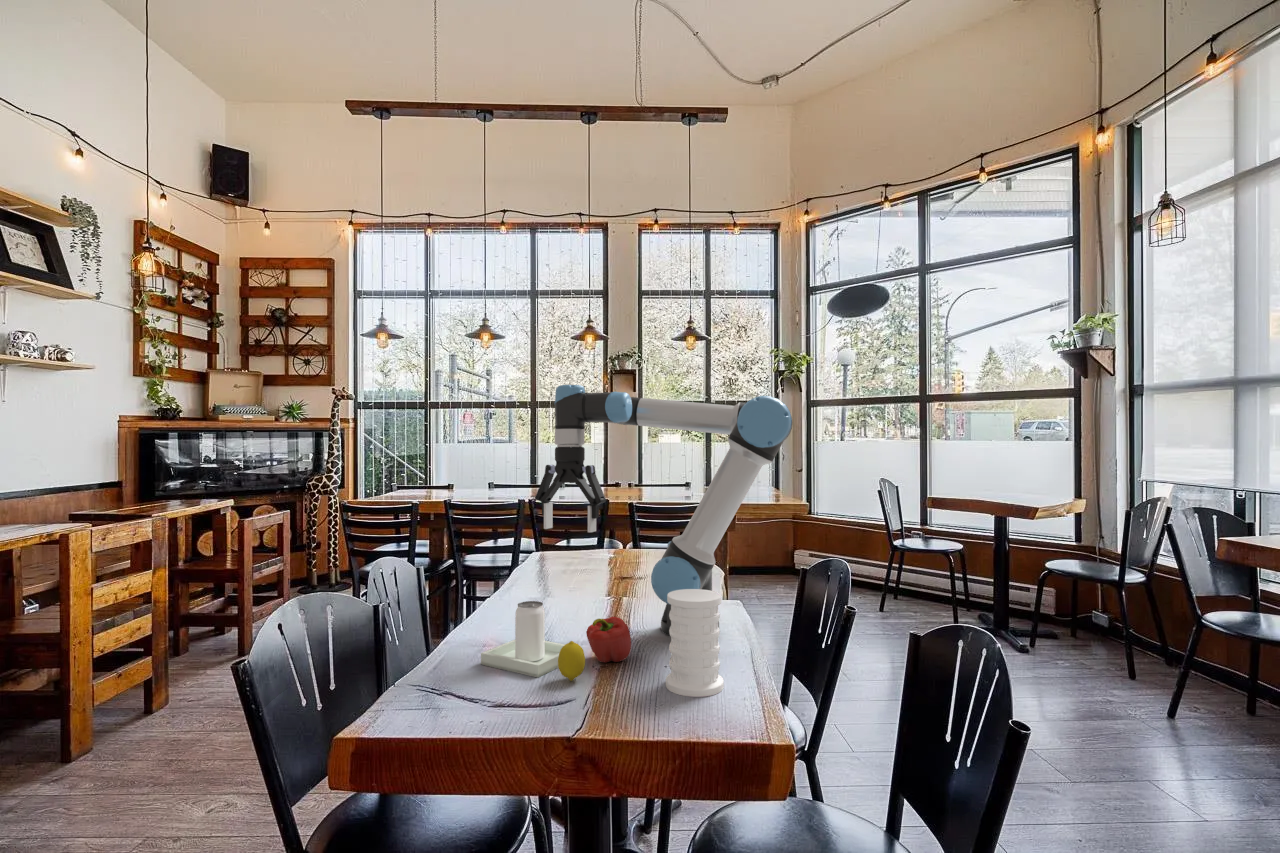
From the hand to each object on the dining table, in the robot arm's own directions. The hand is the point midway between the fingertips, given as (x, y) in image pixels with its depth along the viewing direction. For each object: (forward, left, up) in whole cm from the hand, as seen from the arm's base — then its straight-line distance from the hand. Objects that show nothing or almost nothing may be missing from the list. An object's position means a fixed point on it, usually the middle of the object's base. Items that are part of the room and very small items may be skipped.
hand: (569, 530), depth 159 cm
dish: (-3, +19, -27) cm, 33 cm away
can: (-3, +19, -26) cm, 33 cm away
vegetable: (-18, +10, -27) cm, 34 cm away
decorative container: (-41, +14, -27) cm, 51 cm away
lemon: (-18, +24, -27) cm, 40 cm away
